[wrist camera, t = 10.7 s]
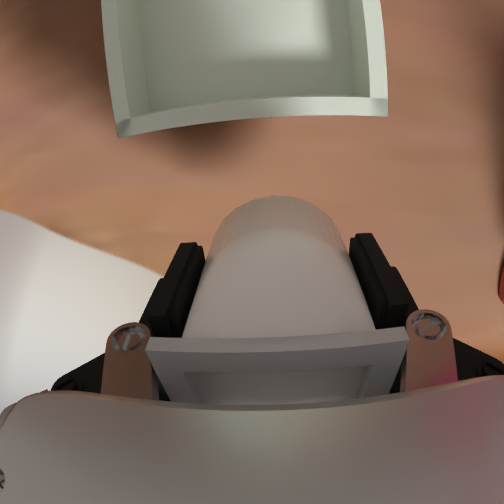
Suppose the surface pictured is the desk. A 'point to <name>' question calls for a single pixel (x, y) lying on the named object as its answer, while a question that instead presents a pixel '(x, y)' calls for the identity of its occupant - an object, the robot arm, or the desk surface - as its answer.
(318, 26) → the tray
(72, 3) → the desk surface
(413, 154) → the desk surface
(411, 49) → the desk surface
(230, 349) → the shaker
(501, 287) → the stacking bear
